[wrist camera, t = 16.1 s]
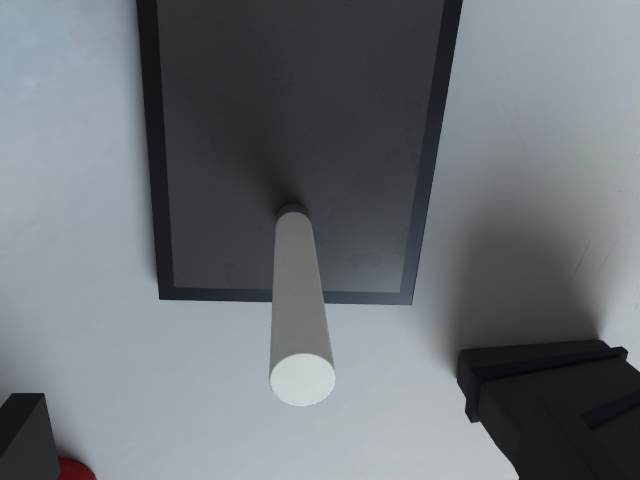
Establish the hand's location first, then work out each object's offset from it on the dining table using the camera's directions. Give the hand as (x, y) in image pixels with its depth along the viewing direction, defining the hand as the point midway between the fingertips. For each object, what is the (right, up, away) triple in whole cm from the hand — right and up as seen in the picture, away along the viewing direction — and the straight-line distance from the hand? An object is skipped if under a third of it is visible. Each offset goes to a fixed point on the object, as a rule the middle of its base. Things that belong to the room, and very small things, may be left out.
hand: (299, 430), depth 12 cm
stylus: (-1, +6, +14) cm, 15 cm away
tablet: (-1, +12, +13) cm, 18 cm away
